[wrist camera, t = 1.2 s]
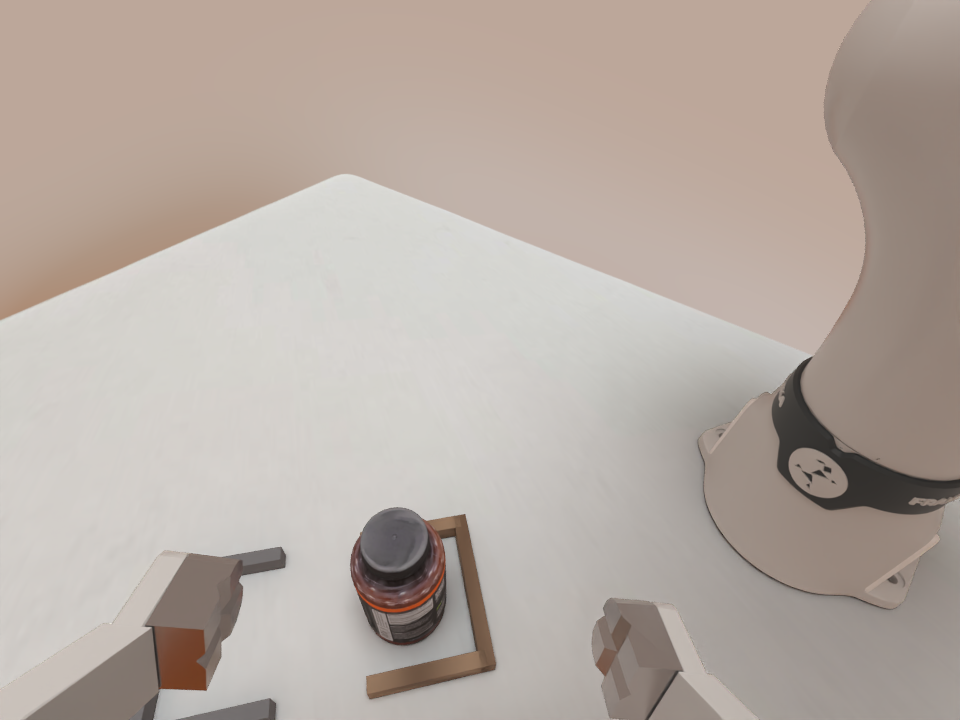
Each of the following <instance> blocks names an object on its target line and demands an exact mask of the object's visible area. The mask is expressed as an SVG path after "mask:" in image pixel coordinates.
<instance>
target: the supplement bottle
mask: <svg viewBox="0 0 960 720" xmlns="http://www.w3.org/2000/svg"><path fill="white" fill-rule="evenodd" d="M350 566H351V577H352V580H353V582H354V586H355V588H356V590H357V593H358V596H359V599H360V601H361V604H362V606H363V609H364V611H365V615H366V617H367V620H368V622H369V624H370V626H371V627H372V628H373V630H374V631H375V633H376V634H377V635H378V636H379V637H381V638H382V639H384V640H386V641H388V642H390V643H393V644H397V645H407V644H412V643H415V642H418V641H420V640H422V639H424V638H425V637H427V636H428V635H429V634H430V633H432V632H433V630H434V629H435V628H436V626H437V625H438V624H439V622H440V620H441V618H442V616H443V613H444V608H445V604H446V565H445V551H444V546H443V543H442V540H441V538H440V536H439V534H438V532H437V531H436V530H435V528H434V527H433V526H432V525H431V524H430V523H428V522H427V521H426V520H424V519H422V518H421V517H420V516H419V515H418V514H416V513H415V512H413V511H412V510H409V509H406V508H398V507H396V508H389V509H385V510H383V511H381V512H379V513H378V514H376V515H374V516H373V517H372V518H371V519H370V520H369V521H368V522H367V524H366V526H365V527H364V529H363V531H362V534H361V535H360V537H359V538H358V540H357V541H356V543H355V545H354V547H353V551H352V554H351V563H350Z"/></svg>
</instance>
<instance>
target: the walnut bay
mask: <svg viewBox="0 0 960 720" xmlns="http://www.w3.org/2000/svg"><path fill="white" fill-rule="evenodd" d="M427 522H428V523H430V524H431V525H432V526H433V527H434V528H435V530H436V531H437V532H438V534H439V536H440V538H441V539H442V538H447V537H452V536H455V538H456V543H457V548H458V554H459V559H460V565H461V570H462V576H463V581H464V586H465V592H466V597H467V603H468V608H469V614H470V619H471V625H472V630H473V635H474V641H475V646H476V651H475V652H471V653H466V654H462V655H458V656H453V657H449V658H444V659H440V660H436V661H431V662H427V663H423V664H418V665H414V666H409V667H405V668H401V669H396V670H392V671H388V672H383V673H379V674H374V675H370V676H366V680H367V695H368V697H369V699H373V698H377V697H381V696H385V695H390V694H394V693H398V692H402V691H407V690H411V689H415V688H419V687H423V686H428V685H432V684H436V683H440V682H445V681H449V680H453V679H457V678H461V677H466V676H470V675H474V674H478V673H483V672H487V671H491V670H495V666H496V662H495V657H494V652H493V647H492V642H491V637H490V633H489V628H488V623H487V618H486V613H485V608H484V603H483V598H482V594H481V589H480V584H479V579H478V574H477V569H476V564H475V559H474V555H473V550H472V545H471V540H470V535H469V530H468V525H467V521H466V516H465V514H463V515H458V516H452V517H446V518H441V519H435V520H429V521H427ZM361 534H362V532H361V533H360V535H361Z"/></svg>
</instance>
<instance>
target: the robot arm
mask: <svg viewBox="0 0 960 720" xmlns="http://www.w3.org/2000/svg"><path fill="white" fill-rule="evenodd" d="M824 119H825V127H826V131H827V135H828V139H829V142H830V144H831V146H832V149H833V151H834V153H835V154H836V156H837V157H838V159H839V160H840V162H841V163H842V165H843V166H844V168H845V169H846V171H847V172H848V175H849V177H850V179H851V180H852V183H853V185H854V187H855V189H856V192H857V195H858V198H859V200H860V204H861V209H862V213H863V217H864V226H865V242H866V243H865V256H864V261H863V266H862V270H861V274H860V277H859V280H858V283H857V285H856V287H855V289H854V292H853V294H852V296H851V298H850V300H849V301H848V303H847V305H846V307H845V308H844V310H843V312H842V314H841V316H840V317H839V319H838V320H837V322H836V323H835V325H834V327H833V328H832V330H831V332H830V333H829V335H828V336H827V338H826V339H825V341H824V342H823V344H822V345H821V347H820V348H819V349H818V351H817V352H816V353H815V355H814V356H813V357H811V358H808V359H806V360H805V361H803V362H802V363H801V364H800V365H799V366H798V367H797V369H795V370H794V371H793V373H792V374H790V375H789V376H788V377H787V379H786V380H785V381H784V383H783V384H782V385H781V386H780V387H779V388H777V389H776V390H775V391H774V392H773V393H772V394H770V393H768V392H765V393H763V394H761V395H760V396H759V397H758V398H757V399H756V398H753V399H751V400H750V401H749V402H748V403H747V404H746V405H745V406H744V408H743V409H742V410H741V411H740V413H739V414H738V415H737V416H736V418H735V419H734V420H733V421H732V422H729V423H726V424H724V425H721V426H718V427H715V428H712V429H709V430H707V431H705V432H704V433H703V434H702V435H701V436H700V437H699V439H698V444H699V448H700V451H701V454H702V457H703V459H704V462H705V475H704V493H705V499H706V503H707V506H708V508H709V511H710V513H711V515H712V518H713V519H714V521H715V523H716V525H717V526H718V528H719V530H720V531H721V532H722V534H723V535H724V536H725V538H726V539H727V540H728V541H729V543H730V544H731V545H732V546H733V547H734V548H735V549H736V550H737V551H738V552H739V553H740V554H741V555H742V556H743V557H744V558H745V559H747V560H748V561H749V562H750V563H751V564H753V565H754V566H755V567H757V568H758V569H760V570H761V571H763V572H764V573H766V574H767V575H769V576H771V577H773V578H774V579H776V580H778V581H780V582H782V583H784V584H787V585H789V586H792V587H794V588H797V589H800V590H804V591H807V592H812V593H817V594H826V595H848V596H853V597H856V598H858V599H861V600H863V601H866V602H868V603H871V604H874V605H876V606H879V607H883V608H887V609H894V608H896V607H897V606H898V605H900V604H901V603H902V602H903V601H904V600H905V598H906V595H907V593H908V590H909V587H910V584H911V582H912V579H913V576H914V573H915V571H916V568H917V565H918V563H919V560H920V557H921V555H922V554H924V553H925V552H926V551H928V550H929V549H931V548H932V547H933V546H934V545H936V544H937V543H938V541H939V540H940V537H939V536H938V534H937V532H938V530H939V528H940V526H941V523H942V519H943V514H944V509H945V505H946V504H947V503H949V502H952V501H954V500H956V499H958V498H959V497H960V0H871V1H870V3H869V4H868V5H867V6H866V8H865V9H864V10H863V11H862V13H861V14H860V16H859V17H858V18H857V19H856V21H855V22H854V24H853V25H852V27H851V29H850V30H849V32H848V33H847V35H846V37H845V38H844V40H843V42H842V44H841V46H840V48H839V50H838V52H837V54H836V57H835V60H834V62H833V65H832V67H831V70H830V73H829V78H828V82H827V85H826V91H825V99H824ZM242 573H243V560H238V559H230V558H223V557H215V556H208V555H200V554H193V553H184V552H175V551H167V550H165V551H163V552H162V553H161V554H160V555H159V556H158V557H157V558H156V559H155V561H154V562H153V564H152V565H151V567H150V568H149V570H148V571H147V573H146V574H145V575H144V577H143V578H142V580H141V581H140V583H139V584H138V586H137V587H136V589H135V590H134V592H133V593H132V595H131V596H130V598H129V599H128V601H127V602H126V604H125V605H124V607H123V608H122V610H121V611H120V612H119V614H118V615H117V617H116V618H115V620H114V621H113V623H112V624H109V623H103V624H101V625H100V626H98V627H97V628H95V629H94V630H92V631H91V632H89V633H87V634H86V635H84V636H83V637H81V638H80V639H78V640H76V641H75V642H73V643H72V644H70V645H69V646H67V647H66V648H64V649H62V650H61V651H59V652H58V653H56V654H55V655H53V656H51V657H50V658H48V659H47V660H45V661H44V662H42V663H41V664H39V665H37V666H36V667H34V668H33V669H31V670H30V671H28V672H26V673H25V674H23V675H22V676H20V677H19V678H17V679H16V680H14V681H12V682H11V683H9V684H8V685H6V686H5V687H3V688H1V689H0V720H129V719H130V718H131V717H132V716H133V715H134V714H136V713H137V712H138V711H139V710H140V709H141V708H142V707H143V706H144V705H145V704H146V703H147V702H149V701H150V700H151V699H152V698H153V697H154V696H155V695H156V694H157V693H158V692H159V689H178V690H204V691H207V689H208V686H209V684H210V682H211V679H212V677H213V675H214V672H215V670H216V668H217V665H218V663H219V661H220V659H221V642H222V641H223V640H225V639H226V638H227V637H228V636H230V635H231V633H232V630H233V628H234V626H235V623H236V621H237V617H238V614H239V610H240V607H241V602H242V596H243V586H242V585H241V584H240V583H239V579H240V577H241V575H242ZM887 579H889V580H890V581H891V582H889V581H888V580H887ZM603 610H604V613H605V616H604V617H602V618H601V619H599V620H598V621H597V622H596V624H595V627H594V629H593V633H592V652H593V657H594V661H595V665H596V666H597V668H598V669H599V670H600V671H601V672H602V673H603V675H604V676H605V677H604V680H603V682H602V685H601V688H602V692H603V695H604V699H605V703H606V706H607V710H608V714H609V717H610V718H612V719H622V720H759V719H758V718H757V717H756V716H755V715H754V714H753V713H752V712H751V711H750V710H749V709H748V708H747V707H746V706H745V705H744V704H743V703H742V702H741V701H740V700H739V699H738V698H737V697H736V696H735V695H734V694H733V693H732V692H730V691H729V690H728V689H727V688H726V687H725V686H724V685H723V684H722V683H721V682H720V681H719V680H718V679H717V678H716V677H715V676H714V675H711V674H707V673H706V670H705V668H704V666H703V664H702V662H701V660H700V658H699V656H698V653H697V651H696V649H695V647H694V645H693V643H692V641H691V638H690V636H689V634H688V632H687V630H686V628H685V626H684V623H683V621H682V619H681V617H680V615H679V613H678V611H677V609H676V608H675V607H674V606H673V605H672V604H666V603H656V602H649V601H641V600H629V599H618V598H610V599H609V600H607V601H606V603H605V605H604V607H603Z"/></svg>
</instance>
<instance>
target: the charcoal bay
mask: <svg viewBox="0 0 960 720" xmlns="http://www.w3.org/2000/svg"><path fill="white" fill-rule="evenodd" d="M223 558H230V559H238V560H243V573H242V575H246V574H251V573H257V572H262V571H268V570H273V569H279V568H284V567H285V558H286V555H285V553H284V551H283V549H282V547H276V548H271V549H265V550H260V551H254V552H248V553H243V554H237V555H231V556H226V557H223ZM157 697H158V693H157V694H156V695H155V696H154V697H153V698H152V699H151V700H150V701H149V702H147V703H146V704H145V705H144V706H143V707H142V708H141V709H140V710H139V711H138V712H137V713H136V714H134V715H133V716H132V717H131V718H130V719H129V720H153V716H154V711H155V707H156V702H157ZM275 708H276V703H275V702H274V701H272V700H271V699H270V698H269V699H265V700H261V701H256V702H252V703H248V704H243V705H239V706H234V707H230V708H226V709H221V710H217V711H213V712H208V713H204V714H199V715H195V716H191V717H186V718H182V719H178V720H275Z"/></svg>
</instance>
